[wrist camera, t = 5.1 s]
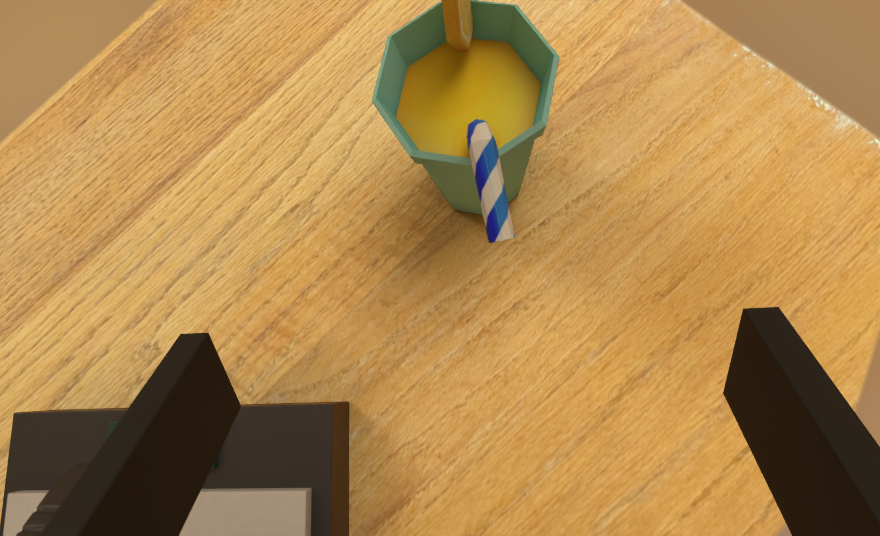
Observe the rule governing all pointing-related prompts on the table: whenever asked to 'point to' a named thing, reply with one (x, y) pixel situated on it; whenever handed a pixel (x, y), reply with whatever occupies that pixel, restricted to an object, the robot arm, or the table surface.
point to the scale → (230, 479)
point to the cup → (469, 101)
